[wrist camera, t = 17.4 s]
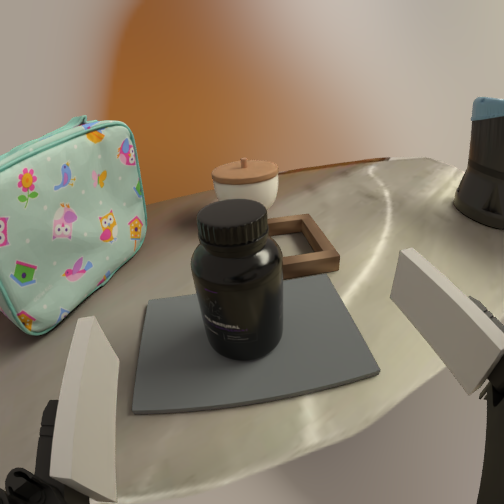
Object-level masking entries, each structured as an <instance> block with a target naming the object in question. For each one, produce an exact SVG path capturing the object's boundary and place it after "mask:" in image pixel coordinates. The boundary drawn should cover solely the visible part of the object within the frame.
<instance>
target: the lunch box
mask: <svg viewBox="0 0 504 504" xmlns="http://www.w3.org/2000/svg"><path fill="white" fill-rule="evenodd" d="M86 120H87V116H85V115H84V116H80V117H74V118H72V119H71V120H70V121H69V122H68V123H67V124H66V125H64V126H63V127H61V128H59V129H57V130H55V131H53V132H50V133H48V134H46V135H44V136H42V137H41V138H38V139H35V140H32V141H29V142H26V143H24V144H22V145H19V146H17V147H15V148H13V149H12V150H10V152H8V153H6V154H4V155H2V156H0V311H1V312H2V313H3V314H4V315H5V316H7V317H8V318H9V319H10V320H11V321H12V322H13V323H14V324H15V325H16V326H17V327H19V328H20V329H21V330H22V331H23V332H25V333H26V334H29V335H41V334H45V333H47V332H48V331H50V330H51V329H53V328H54V327H55V326H56V325H57V324H58V323H60V322H61V321H62V320H63V319H64V318H65V317H66V316H67V315H68V314H69V313H70V312H71V311H72V310H73V309H74V308H75V307H76V306H78V305H79V304H80V303H81V302H82V301H83V300H84V299H85V298H87V297H88V296H89V295H90V294H91V293H93V292H94V291H95V290H97V289H98V288H99V287H101V286H104V285H105V284H106V283H107V282H108V281H109V279H110V278H111V277H112V275H113V274H114V273H115V272H116V271H117V270H118V269H119V268H120V267H121V266H122V265H123V264H124V263H126V262H127V261H128V260H129V259H130V258H132V257H133V256H134V255H135V254H136V252H137V251H138V250H139V248H140V247H141V246H142V243H143V241H144V238H145V234H146V229H147V213H146V205H145V200H144V193H143V187H142V181H141V175H140V168H139V162H138V157H137V151H136V145H135V140H134V136H133V134H132V132H131V130H130V129H129V127H128V126H127V125H126V124H124V123H123V122H120V121H99V122H97V120H93V121H86Z"/></svg>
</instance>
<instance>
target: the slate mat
mask: <svg viewBox="0 0 504 504" xmlns="http://www.w3.org/2000/svg"><path fill="white" fill-rule="evenodd" d="M379 372H380V368H379V367H378V365H377V363H376V361H375V359H374V357H373V355H372V353H371V352H370V350H369V348H368V346H367V344H366V342H365V341H364V339H363V337H362V335H361V333H360V331H359V330H358V328H357V326H356V324H355V323H354V321H353V319H352V317H351V315H350V314H349V312H348V310H347V308H346V307H345V305H344V303H343V301H342V300H341V298H340V296H339V294H338V293H337V291H336V289H335V288H334V286H333V284H332V283H331V281H330V279H329V277H328V276H327V274H321V275H315V276H309V277H303V278H297V279H291V280H285V281H283V334H282V338H281V340H280V342H279V344H278V345H277V346H276V348H275V349H274V350H272V351H271V352H270V353H268V354H267V355H265V356H263V357H261V358H258V359H255V360H249V361H237V360H232V359H228V358H226V357H223V356H222V355H220V354H218V353H217V352H216V351H215V350H214V349H213V348H212V347H211V345H210V343H209V341H208V338H207V335H206V331H205V327H204V323H203V319H202V315H201V310H200V306H199V302H198V298H197V294H192V295H185V296H177V297H170V298H162V299H154V300H149V301H148V306H147V311H146V317H145V322H144V328H143V333H142V339H141V346H140V352H139V358H138V365H137V372H136V380H135V387H134V396H133V404H132V411H133V413H134V414H157V413H177V412H190V411H202V410H212V409H221V408H229V407H236V406H243V405H250V404H256V403H262V402H268V401H274V400H279V399H284V398H289V397H294V396H299V395H303V394H308V393H312V392H316V391H321V390H325V389H329V388H333V387H336V386H340V385H344V384H348V383H351V382H355V381H358V380H361V379H365V378H368V377H371V376H374V375H378V374H379Z"/></svg>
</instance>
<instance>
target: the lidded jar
mask: <svg viewBox="0 0 504 504" xmlns="http://www.w3.org/2000/svg"><path fill="white" fill-rule="evenodd" d="M212 179H213V182H214V189H215V193H216V196H217V199H218V201H221V200H227V199H249V200H254V201H257V202H260V203H261V204H263V205H264V206H265V207H266V210H268V209H269V208H270V207H271V206H272V204H273V203H274V201H275V199H276V196H277V191H278V166H277V165H276V164H275V163H273V162H269V161H262V160H247V158H241V161H237V162H232V163H227V164H224V165H221V166H219V167H217V168H215V169H214V170H213V171H212Z"/></svg>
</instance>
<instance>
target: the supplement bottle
mask: <svg viewBox="0 0 504 504" xmlns="http://www.w3.org/2000/svg"><path fill="white" fill-rule="evenodd" d="M197 225H198V231H199V232H198V237H199V241H200V244H199V245H198V246H197V247H196V249H195V251H194V253H193V255H192V259H191V270H192V275H193V280H194V284H195V289H196V293H197V298H198V302H199V306H200V310H201V315H202V319H203V323H204V327H205V331H206V335H207V338H208V341H209V343H210V345H211V347H212V348H213V349H214V350H215V351H216V352H217V353H218V354H220V355H222V356H223V357H226V358H228V359H232V360H237V361H249V360H255V359H258V358H261V357H263V356H265V355H267V354H268V353H270V352H271V351H272V350H274V349H275V348H276V346H277V345H278V344H279V342H280V340H281V338H282V334H283V255H282V251H281V249H280V247H279V245H278V244H277V243H276V241H275V240H274V239H272V238H271V237H270V236H268V235H269V226H268V221H267V210H266V207H265V206H264V205H263V204H261V203H260V202H257V201H254V200H249V199H227V200H221V201H218V202H214V203H212V204H209V205H207V206H205V207H204V208H202V209H201V210H200V211H199V213H198V214H197Z"/></svg>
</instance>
